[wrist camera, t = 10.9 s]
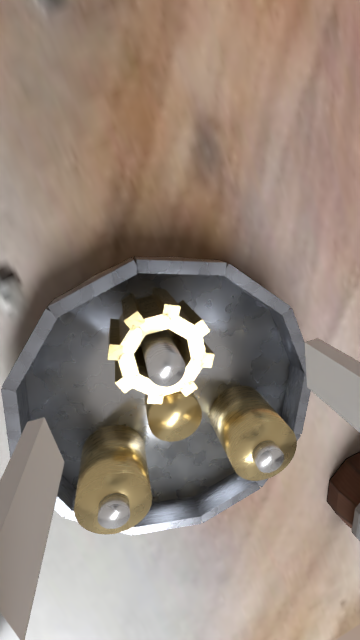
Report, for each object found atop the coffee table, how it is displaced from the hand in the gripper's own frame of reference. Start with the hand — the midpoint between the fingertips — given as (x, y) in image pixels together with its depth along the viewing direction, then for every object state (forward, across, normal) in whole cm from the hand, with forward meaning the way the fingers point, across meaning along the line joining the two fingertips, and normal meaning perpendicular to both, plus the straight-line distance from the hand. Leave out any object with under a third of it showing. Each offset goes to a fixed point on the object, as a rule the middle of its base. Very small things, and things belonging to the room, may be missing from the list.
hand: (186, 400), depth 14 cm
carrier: (+14, -1, -8) cm, 16 cm away
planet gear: (+12, 0, 0) cm, 12 cm away
